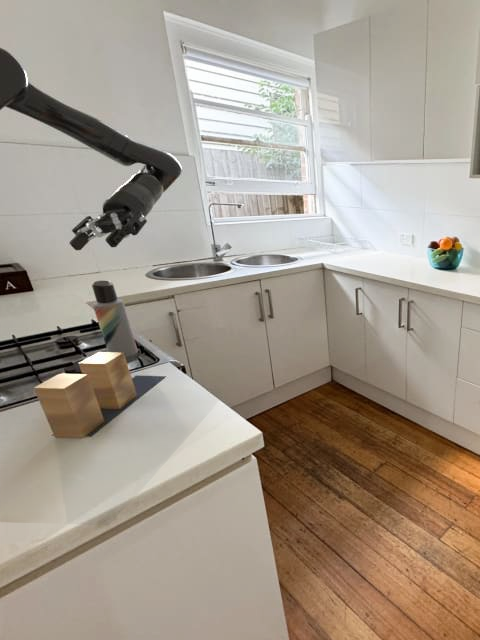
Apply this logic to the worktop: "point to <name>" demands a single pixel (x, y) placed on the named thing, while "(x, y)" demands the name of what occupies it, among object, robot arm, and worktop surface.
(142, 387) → the mat
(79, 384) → the oak block
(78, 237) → the robot arm
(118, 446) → the worktop surface
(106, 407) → the oak block
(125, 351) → the lotion bottle
